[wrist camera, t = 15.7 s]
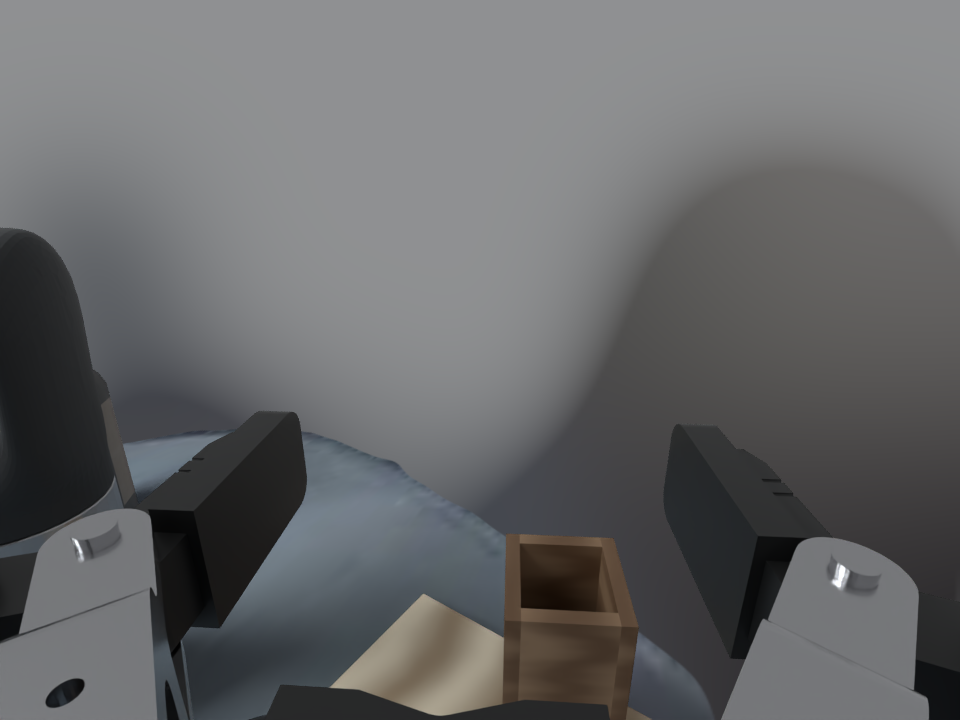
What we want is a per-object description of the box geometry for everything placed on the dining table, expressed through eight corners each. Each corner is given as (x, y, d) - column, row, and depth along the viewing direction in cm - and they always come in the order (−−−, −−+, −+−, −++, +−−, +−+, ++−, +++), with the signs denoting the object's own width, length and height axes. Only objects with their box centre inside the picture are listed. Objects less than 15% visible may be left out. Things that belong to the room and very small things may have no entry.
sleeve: (500, 806, 29) (504, 620, 24) (502, 699, 35) (506, 533, 30) (612, 815, 29) (638, 627, 24) (595, 705, 35) (613, 538, 30)
